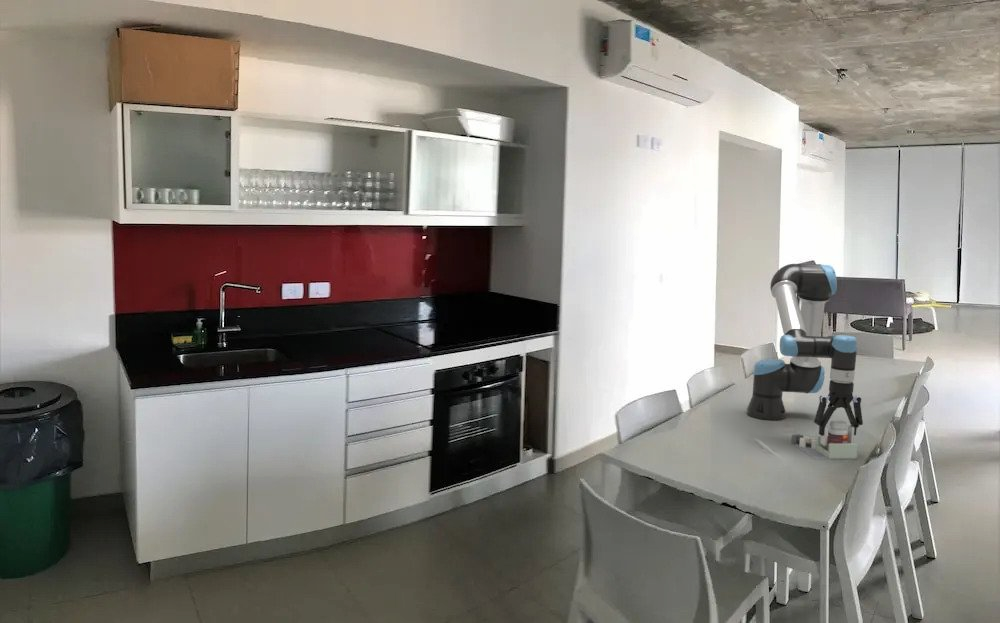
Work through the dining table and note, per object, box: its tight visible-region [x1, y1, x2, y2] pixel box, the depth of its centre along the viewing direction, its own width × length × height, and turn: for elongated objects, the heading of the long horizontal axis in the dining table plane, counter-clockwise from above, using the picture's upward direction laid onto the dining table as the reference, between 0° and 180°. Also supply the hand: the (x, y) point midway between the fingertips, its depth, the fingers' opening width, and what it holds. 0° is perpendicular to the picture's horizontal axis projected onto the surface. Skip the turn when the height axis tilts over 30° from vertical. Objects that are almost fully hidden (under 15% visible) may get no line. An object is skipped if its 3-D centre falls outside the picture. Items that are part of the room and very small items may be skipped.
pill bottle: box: [827, 419, 848, 451], centre depth 253 cm, size 6×6×11 cm
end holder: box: [815, 435, 859, 460], centre depth 253 cm, size 10×10×5 cm
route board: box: [791, 433, 858, 460], centre depth 258 cm, size 19×15×4 cm
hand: (836, 444), depth 253 cm, fingers open, 9 cm apart
